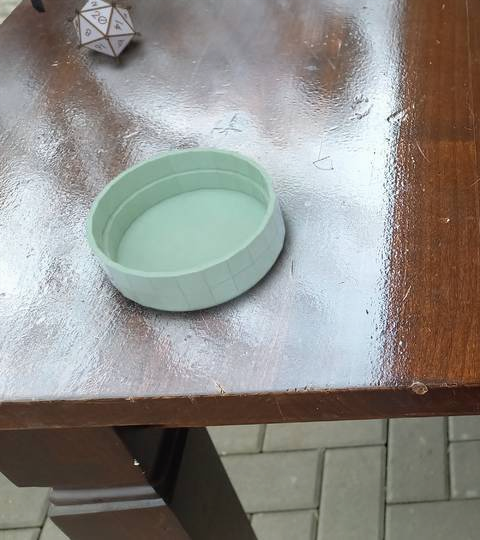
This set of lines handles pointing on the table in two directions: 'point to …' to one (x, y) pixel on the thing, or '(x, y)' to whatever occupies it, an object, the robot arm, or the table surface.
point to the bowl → (187, 228)
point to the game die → (104, 27)
